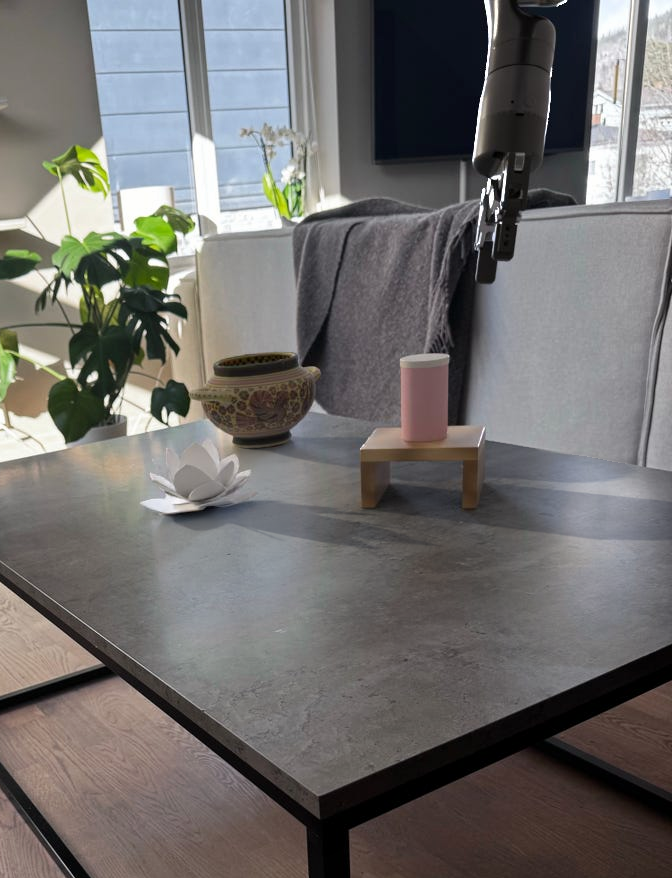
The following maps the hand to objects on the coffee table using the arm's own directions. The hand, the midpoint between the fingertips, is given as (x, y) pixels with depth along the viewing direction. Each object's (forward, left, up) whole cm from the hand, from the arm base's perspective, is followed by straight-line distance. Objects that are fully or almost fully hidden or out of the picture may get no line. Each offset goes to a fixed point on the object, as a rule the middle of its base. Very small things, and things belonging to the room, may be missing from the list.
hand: (493, 272), depth 104 cm
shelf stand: (+7, +8, -24) cm, 26 cm away
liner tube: (+7, +8, -17) cm, 20 cm away
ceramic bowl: (+36, -22, -24) cm, 48 cm away
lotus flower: (+34, +13, -24) cm, 43 cm away
